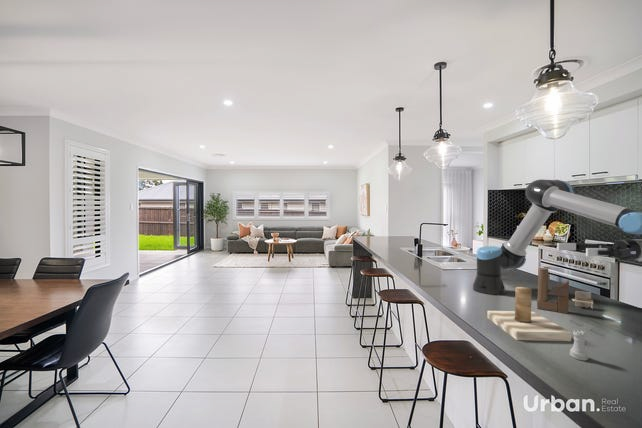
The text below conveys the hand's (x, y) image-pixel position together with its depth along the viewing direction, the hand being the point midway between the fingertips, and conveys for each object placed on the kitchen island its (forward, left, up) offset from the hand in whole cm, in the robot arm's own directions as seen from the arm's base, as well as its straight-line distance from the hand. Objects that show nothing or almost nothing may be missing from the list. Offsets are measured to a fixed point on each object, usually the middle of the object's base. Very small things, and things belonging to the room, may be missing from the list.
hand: (571, 249), depth 110 cm
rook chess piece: (+21, -13, -30) cm, 39 cm away
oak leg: (0, -17, -30) cm, 34 cm away
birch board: (0, -16, -30) cm, 34 cm away
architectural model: (-25, +25, -31) cm, 47 cm away
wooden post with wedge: (-21, +8, -30) cm, 38 cm away
